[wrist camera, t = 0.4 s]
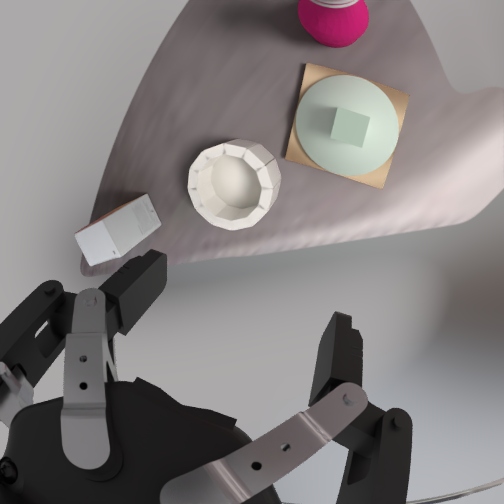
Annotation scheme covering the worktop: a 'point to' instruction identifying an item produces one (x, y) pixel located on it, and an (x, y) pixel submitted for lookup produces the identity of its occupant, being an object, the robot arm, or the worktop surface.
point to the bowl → (234, 183)
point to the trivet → (300, 156)
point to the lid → (347, 125)
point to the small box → (118, 231)
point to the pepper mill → (334, 20)
